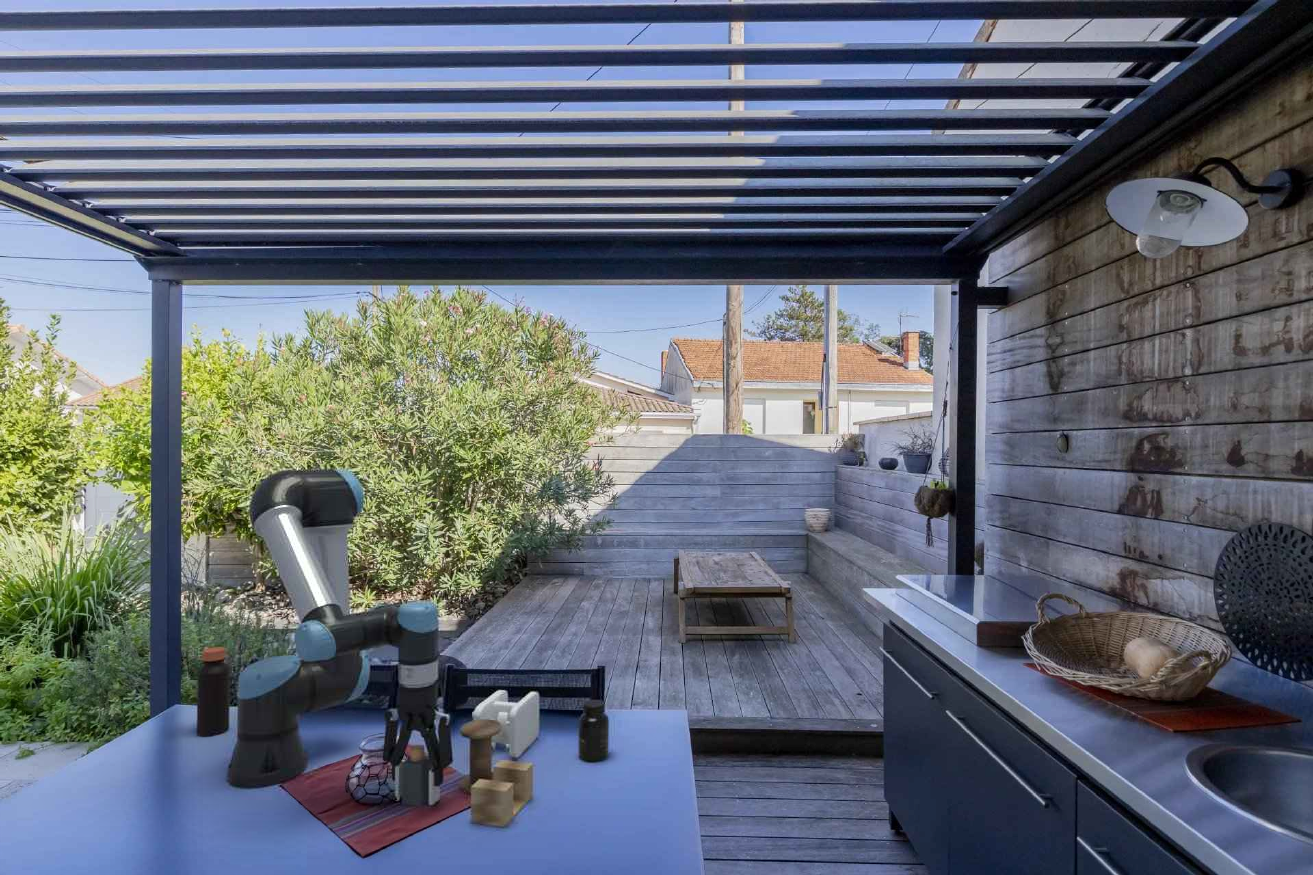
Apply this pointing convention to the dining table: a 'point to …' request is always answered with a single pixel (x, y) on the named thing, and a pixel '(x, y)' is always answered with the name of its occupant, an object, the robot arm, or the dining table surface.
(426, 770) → the gray block with knob
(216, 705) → the vinegar
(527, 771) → the wooden u-shaped block
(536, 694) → the cable organizer
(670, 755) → the dining table surface
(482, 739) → the bobbin
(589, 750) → the supplement bottle
